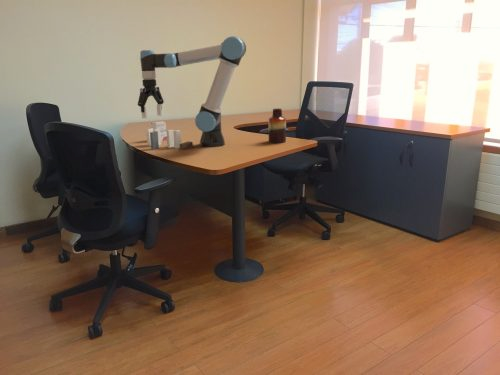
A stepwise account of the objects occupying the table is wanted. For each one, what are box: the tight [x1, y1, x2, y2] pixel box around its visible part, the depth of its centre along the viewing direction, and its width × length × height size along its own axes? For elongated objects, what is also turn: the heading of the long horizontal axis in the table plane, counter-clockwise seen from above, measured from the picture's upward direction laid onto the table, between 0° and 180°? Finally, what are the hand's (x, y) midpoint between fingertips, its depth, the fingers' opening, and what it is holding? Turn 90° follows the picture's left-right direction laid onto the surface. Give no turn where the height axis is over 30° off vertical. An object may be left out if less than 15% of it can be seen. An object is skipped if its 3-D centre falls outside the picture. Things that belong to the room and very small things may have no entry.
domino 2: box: [153, 129, 162, 146], centre depth 258 cm, size 2×5×10 cm, turn 154°
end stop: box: [179, 141, 194, 150], centre depth 250 cm, size 3×9×3 cm, turn 154°
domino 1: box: [145, 128, 154, 147], centre depth 260 cm, size 2×5×10 cm, turn 154°
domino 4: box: [166, 129, 175, 149], centre depth 253 cm, size 2×5×10 cm, turn 154°
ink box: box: [150, 121, 167, 142], centre depth 274 cm, size 9×5×12 cm, turn 141°
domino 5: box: [173, 129, 182, 149], centre depth 251 cm, size 2×5×10 cm, turn 154°
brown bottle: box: [268, 108, 287, 144], centre depth 263 cm, size 11×11×20 cm
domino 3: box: [150, 131, 160, 150], centre depth 248 cm, size 2×5×10 cm, turn 154°
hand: (152, 116), depth 244 cm, fingers open, 13 cm apart
